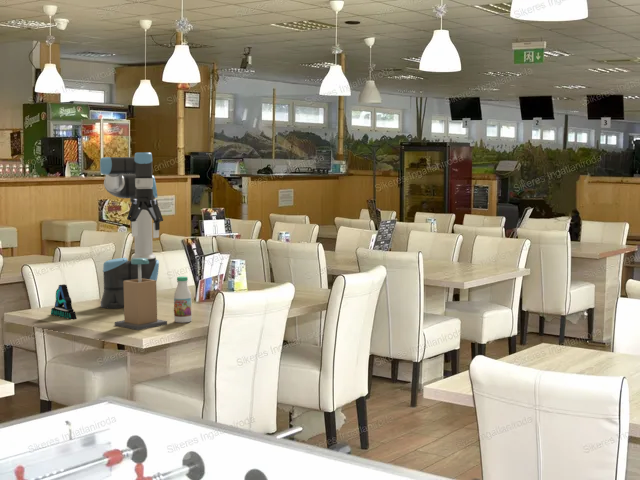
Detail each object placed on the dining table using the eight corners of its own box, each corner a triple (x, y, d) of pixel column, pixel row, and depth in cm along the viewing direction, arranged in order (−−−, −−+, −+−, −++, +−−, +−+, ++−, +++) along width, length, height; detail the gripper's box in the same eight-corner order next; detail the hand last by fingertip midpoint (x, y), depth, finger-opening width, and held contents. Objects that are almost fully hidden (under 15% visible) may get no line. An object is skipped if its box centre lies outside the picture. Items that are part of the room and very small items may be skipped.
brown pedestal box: (114, 325, 390) (113, 281, 388) (144, 320, 401) (143, 277, 400) (137, 329, 379) (135, 284, 377) (167, 324, 391) (166, 280, 389)
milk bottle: (175, 320, 401) (174, 275, 399) (192, 319, 402) (191, 275, 400) (173, 323, 393) (172, 278, 391) (191, 323, 394) (190, 278, 392)
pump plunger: (128, 303, 389) (127, 259, 387) (142, 301, 394) (141, 257, 393) (142, 305, 383) (141, 260, 381) (155, 303, 388) (154, 259, 386)
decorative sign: (76, 319, 406) (75, 286, 404) (71, 320, 404) (70, 287, 402) (55, 314, 419) (54, 282, 417) (50, 314, 417) (49, 283, 416)
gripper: (118, 188, 392) (119, 236, 394) (157, 188, 377) (158, 239, 379) (131, 187, 398) (132, 235, 400) (170, 188, 383) (171, 237, 385)
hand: (145, 237), depth 389 cm, fingers open, 13 cm apart
